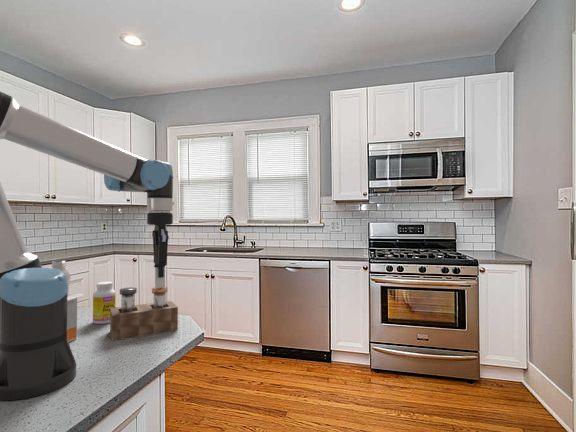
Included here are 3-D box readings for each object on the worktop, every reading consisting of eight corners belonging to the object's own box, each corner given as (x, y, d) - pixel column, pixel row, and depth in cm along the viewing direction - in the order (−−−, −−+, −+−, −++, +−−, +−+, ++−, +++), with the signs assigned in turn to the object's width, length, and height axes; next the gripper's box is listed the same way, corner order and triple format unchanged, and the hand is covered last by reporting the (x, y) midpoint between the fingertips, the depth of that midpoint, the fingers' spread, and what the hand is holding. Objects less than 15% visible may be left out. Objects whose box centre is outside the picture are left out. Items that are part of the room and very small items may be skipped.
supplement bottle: (101, 325, 110) (101, 285, 110) (88, 322, 113) (88, 283, 113) (120, 320, 116) (120, 281, 116) (106, 317, 119) (106, 280, 119)
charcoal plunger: (137, 318, 102) (137, 289, 102) (120, 321, 100) (120, 291, 100) (135, 314, 106) (135, 286, 106) (118, 317, 104) (119, 288, 104)
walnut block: (171, 321, 114) (171, 300, 114) (177, 329, 106) (177, 307, 106) (110, 331, 105) (110, 308, 105) (112, 340, 97) (112, 315, 97)
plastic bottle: (41, 323, 112) (42, 261, 112) (63, 317, 118) (63, 259, 118) (53, 326, 109) (53, 263, 109) (74, 320, 115) (74, 260, 115)
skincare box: (59, 347, 92) (59, 302, 92) (46, 345, 93) (46, 301, 93) (77, 339, 98) (77, 297, 98) (65, 337, 99) (65, 296, 99)
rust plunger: (168, 316, 107) (168, 288, 107) (153, 318, 105) (153, 290, 105) (165, 313, 111) (165, 286, 111) (150, 315, 109) (150, 287, 109)
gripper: (177, 212, 104) (177, 290, 104) (168, 212, 115) (168, 282, 115) (150, 212, 100) (150, 292, 100) (144, 212, 111) (144, 284, 112)
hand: (160, 287), depth 108 cm, fingers closed
